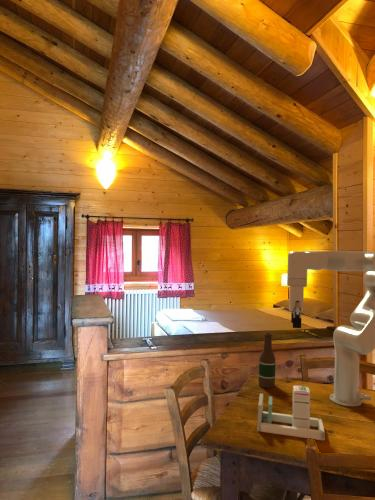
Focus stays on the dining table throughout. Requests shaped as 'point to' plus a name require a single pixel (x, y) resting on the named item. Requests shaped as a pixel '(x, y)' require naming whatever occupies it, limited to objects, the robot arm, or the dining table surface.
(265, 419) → the plate
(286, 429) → the white angular frame
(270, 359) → the beer bottle
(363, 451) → the dining table surface
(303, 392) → the syrup box
